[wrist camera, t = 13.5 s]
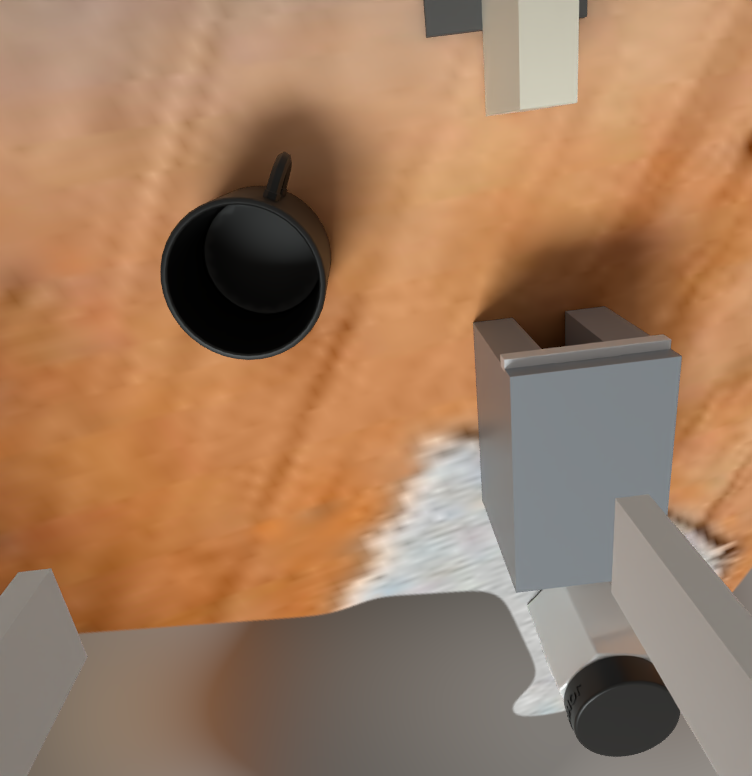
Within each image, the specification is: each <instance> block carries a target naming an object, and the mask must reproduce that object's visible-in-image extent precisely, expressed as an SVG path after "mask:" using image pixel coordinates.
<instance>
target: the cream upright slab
mask: <svg viewBox="0 0 752 776" xmlns="http://www.w3.org/2000/svg"><path fill="white" fill-rule="evenodd" d="M482 25H483V53H484V80H485V107H486V116H492V115H500V114H508V113H516V112H525V111H532V110H538V109H544V108H550V107H556V106H562V105H568V104H573V103H577V93H578V37H579V0H482Z"/></svg>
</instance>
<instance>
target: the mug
mask: <svg viewBox="0 0 752 776" xmlns="http://www.w3.org/2000/svg"><path fill="white" fill-rule="evenodd" d="M291 165H292V162H291V156H290V155H289V154H288V153H286V152H283V153H281V154H279V155H278V157H277V158H276V161H275V163H274V166H273V168H272V171H271V174H270V177H269V181H268V184H267V187H266V186H251V187H246V188H241V189H238V190H236V191H233V192H231V193H228V194H226V195H224V196H221V197H219V198H217V199H214V200H212V201H209V202H207V203H205V204H202V205H201V206H199V207H197V208H195V209H194V210H192V211H191V212H189V213H188V214H187V215H186V216H185V217H184V218H183V219H182V220H181V221H180V222H179V223H178V224H177V225H176V227H175V228H174V229H173V231H172V232H171V234H170V236H169V238H168V240H167V242H166V245H165V248H164V251H163V254H162V260H161V284H162V290H163V294H164V297H165V300H166V303H167V306H168V308H169V310H170V311H171V313H172V315H173V317H174V318H175V320H176V321H177V323H178V324H179V325H180V327H181V328H182V329H183V330H184V331H185V332H186V333H187V334H188V335H189V336H190V337H191V338H192V339H194V340H195V341H196V342H198V343H199V344H200V345H202V346H204V347H205V348H207V349H209V350H211V351H213V352H215V353H218V354H220V355H223V356H227V357H231V358H236V359H245V360H253V359H263V358H268V357H272V356H275V355H278V354H280V353H283V352H285V351H287V350H289V349H290V348H292V347H294V346H295V345H296V344H298V343H299V342H300V341H301V340H302V339H303V338H305V336H306V335H307V334H308V333H309V332H310V331H311V330H312V328H313V327H314V325H315V323H316V322H317V320H318V318H319V316H320V313H321V311H322V309H323V305H324V301H325V296H326V290H327V284H328V277H329V271H330V264H331V252H330V245H329V240H328V236H327V234H326V232H325V229H324V227H323V225H322V223H321V222H320V220H319V218H318V217H317V215H316V214H315V213H314V212H313V211H312V209H311V208H310V207H309V206H307V205H306V204H305V203H304V202H303V201H302V200H300V199H299V198H297V197H296V196H294V195H292V194H290V193H288V192H287V189H286V187H287V183H288V179H289V175H290V171H291Z"/></svg>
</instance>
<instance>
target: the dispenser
mask: <svg viewBox="0 0 752 776" xmlns="http://www.w3.org/2000/svg"><path fill="white" fill-rule="evenodd" d="M473 331H474V350H475V369H476V387H477V406H478V425H479V444H480V463H481V482H482V501H483V504H484V506H485V509H486V512H487V514H488V517H489V520H490V523H491V525H492V528H493V531H494V534H495V536H496V539H497V542H498V544H499V547H500V550H501V553H502V555H503V558H504V561H505V564H506V566H507V569H508V572H509V574H510V577H511V580H512V583H513V585H514V588H515V591H516V593H517V592H525V591H534V590H542V589H551V588H559V587H568V586H576V585H585V584H593V583H601V582H610V581H612V564H613V542H614V520H615V498H622V497H630V496H639V495H647V494H649V495H650V496H651V498H652V499H653V500H654V501H655V502H656V503H657V505H658V506H659V507H660V508H661V509H662V511H663V512H664V513H665V514H666V515H667V512H668V501H669V490H670V479H671V468H672V457H673V447H674V436H675V425H676V414H677V403H678V392H679V381H680V370H681V359H682V356H681V355H679V354H678V353H676V352H675V351H673V350H671V339H670V338H668V337H667V336H665V335H663V334H662V335H654V336H650V335H648V334H647V333H645V332H644V331H642V330H641V329H639V328H638V327H636V326H634V325H633V324H631V323H630V322H628V321H627V320H625V319H624V318H622V317H621V316H619V315H618V314H616V313H614V312H613V311H611V310H610V309H608V308H607V307H605V306H604V307H596V308H588V309H579V310H571V311H565V346H564V347H555V348H547V349H541V348H540V347H539V346H538V345H537V344H536V343H535V342H534V340H533V339H532V338H531V337H530V336H529V335H528V334H527V333H526V332H525V331H524V330H523V328H522V327H521V326H520V325H519V324H518V323H517V322H516V321H515V320H514V319H513V318H506V319H498V320H489V321H481V322H473Z"/></svg>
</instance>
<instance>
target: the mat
mask: <svg viewBox="0 0 752 776" xmlns="http://www.w3.org/2000/svg"><path fill="white" fill-rule="evenodd" d="M424 13H425V27H426V38H428V37H436V36H444V35H452V34H460V33H468V32H476V31H483V25H482V0H424ZM585 17H587V0H579V18H585Z"/></svg>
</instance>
